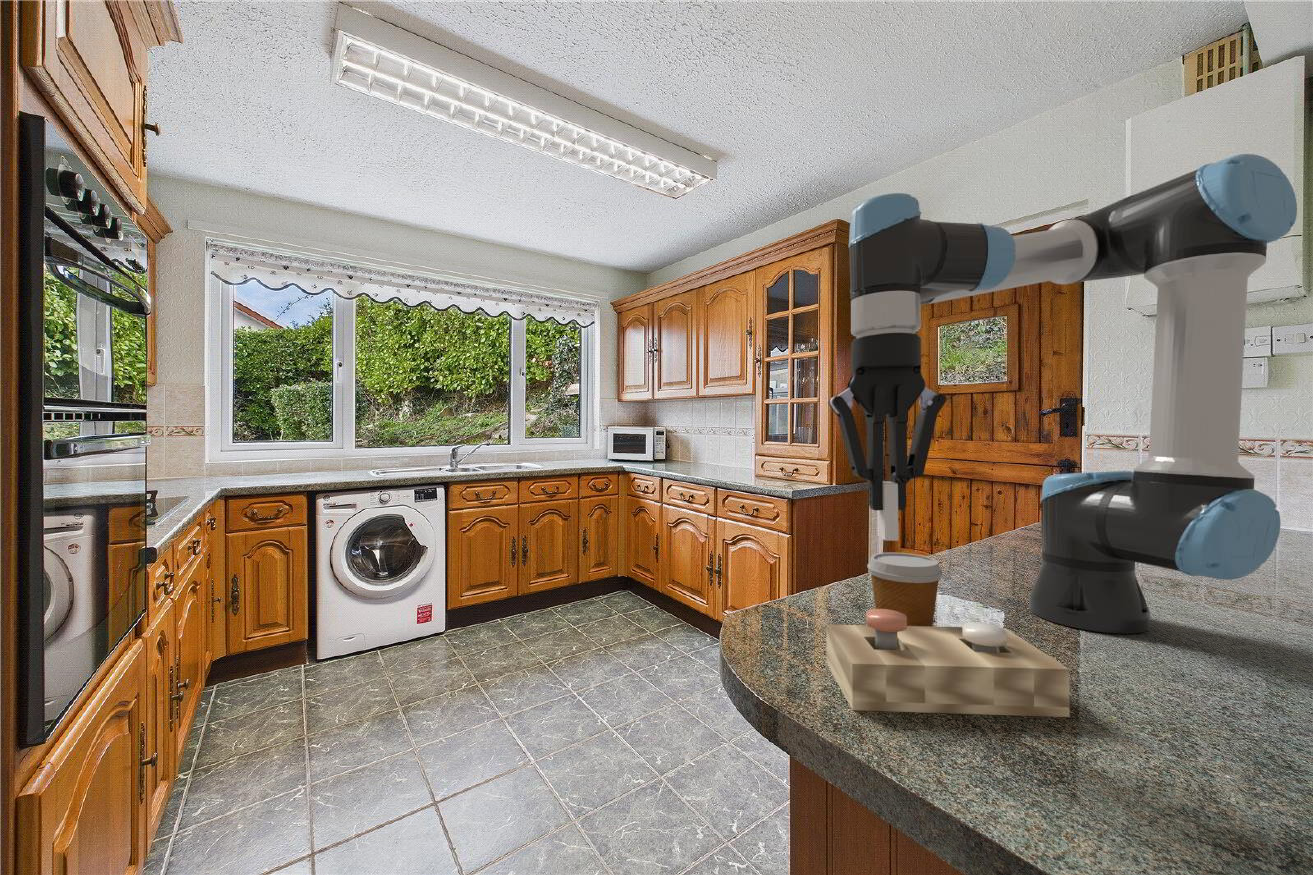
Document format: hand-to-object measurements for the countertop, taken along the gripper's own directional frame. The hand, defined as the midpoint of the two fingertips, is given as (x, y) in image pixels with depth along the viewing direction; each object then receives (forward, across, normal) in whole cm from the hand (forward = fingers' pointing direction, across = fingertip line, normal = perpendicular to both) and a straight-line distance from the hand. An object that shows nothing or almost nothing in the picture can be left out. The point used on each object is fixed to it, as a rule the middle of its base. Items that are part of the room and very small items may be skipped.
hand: (887, 538), depth 64 cm
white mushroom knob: (+15, -11, 0) cm, 19 cm away
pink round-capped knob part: (+14, 0, 0) cm, 14 cm away
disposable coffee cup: (+18, -6, -13) cm, 23 cm away
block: (+17, -5, 0) cm, 18 cm away
